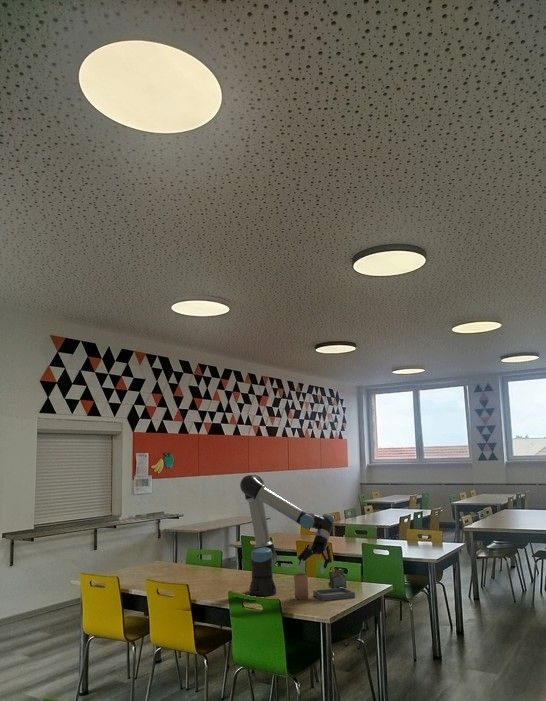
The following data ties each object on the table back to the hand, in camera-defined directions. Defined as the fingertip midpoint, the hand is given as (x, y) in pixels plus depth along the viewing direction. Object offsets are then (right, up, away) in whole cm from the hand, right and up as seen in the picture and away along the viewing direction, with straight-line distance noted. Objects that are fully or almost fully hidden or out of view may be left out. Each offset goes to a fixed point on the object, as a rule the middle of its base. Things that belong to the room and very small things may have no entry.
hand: (310, 572), depth 301 cm
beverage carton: (+18, -18, +25) cm, 36 cm away
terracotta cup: (-5, -11, -8) cm, 14 cm away
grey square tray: (+12, -10, -6) cm, 17 cm away
